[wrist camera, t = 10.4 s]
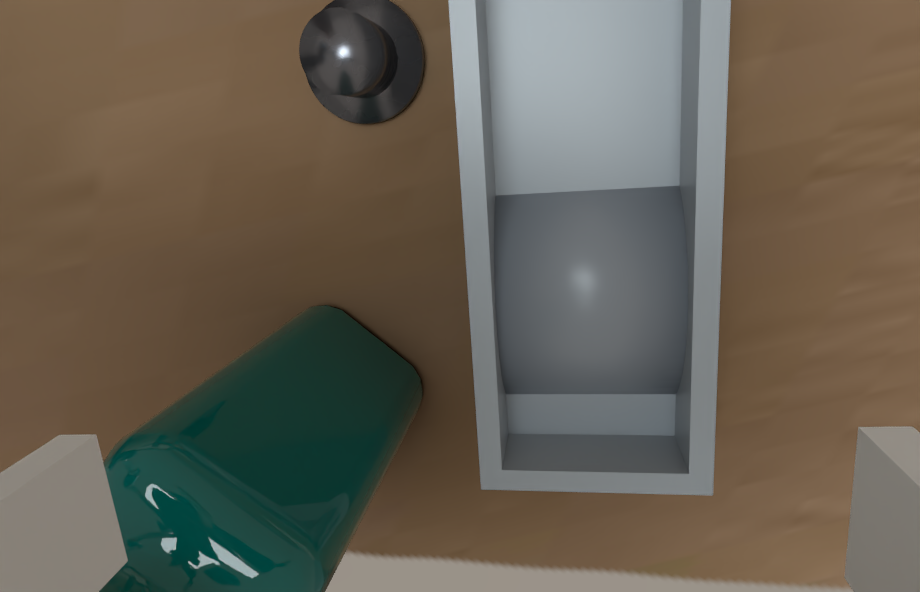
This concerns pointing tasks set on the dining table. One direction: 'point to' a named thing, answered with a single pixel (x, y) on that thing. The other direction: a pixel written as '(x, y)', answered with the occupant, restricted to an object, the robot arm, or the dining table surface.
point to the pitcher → (263, 463)
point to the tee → (363, 59)
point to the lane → (593, 238)
